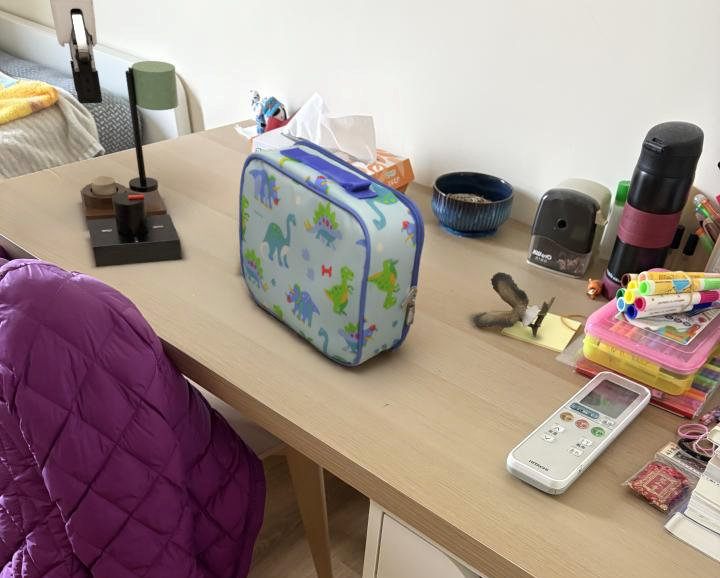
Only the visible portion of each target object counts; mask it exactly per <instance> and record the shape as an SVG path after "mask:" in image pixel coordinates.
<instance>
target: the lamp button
mask: <svg viewBox="0 0 720 578" xmlns="http://www.w3.org/2000/svg"><path fill="white" fill-rule="evenodd" d="M116 183H117V182H116V179H115V178H113V177H112V176H107V175H101V176H95V177H93V178H91V179H90V184H91V186H92V192H93V193H94V194H97V195H110V194H113V193H116V192H117V190H116Z"/></svg>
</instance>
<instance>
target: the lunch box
mask: <svg viewBox="0 0 720 578" xmlns="http://www.w3.org/2000/svg"><path fill="white" fill-rule="evenodd" d="M239 181H240V182H239V193H240V195H239V194H238V203H239V205H238V236H239V237H238V239H239V240H238V241H239V257H240V268H242V273H243V274H242V277H243V280H244V283H245V285H246V288H247V290H248V292H249V293H250V296H251V297H252V299H253V300H254V302H256V303H257V305H259V306H260V307H261V308H263V309H264V310H265V311H267V312H268V313H269V314H271V315H272V316H274V317H275V318H277V319H278V320H279V321H281V322H282V323H283V324H285V325H286V326H287V327H289V328H290V329H292V330H293V331H294V332H295V333H296V335H298V336H300V337H302V338H303V339H304V340H306V341H307V342H309V343H310V344H311V345H312V346H313V347H315V348H316V349H317V350H318V351H319V352H320V353H322V354H323V355H324V356H326V357H327V358H329V359H330V360H333V362H336V363H338V364H341V365H342V366H343V365H344V366H347V367H356V366H358V365H360V364H363V363H365V362H366V361H368V360H369V359H371V358H372V357H375V356H377V355H379V353H381V352H385V351H390V352H391V351H393V352H394V351H395V350H397V349H399V348H400V347H401V346H402V345H403V343H404V342H405V340H406V338H407V336H408V334H409V331H410V328H411V325H413V324H414V318H415V313H416V299H417V294H418V283H419V282H418V281H419V274H420V264H421V257H422V254H423V248H424V243H425V237H426V235H425V234H426V233H425V231H426V229H425V223H424V219H423V213H422V212H421V210H420V208H419V206H418V204H416V202H415V201H414V200H413V199H411V198H410V197H408V196H407V195H406V194H404V193H402V192H400V191H399V190H397V189H395V188H393V187H391V186H390V185H388V184H385V183H383V182H382V181H380V180H378V179H377V178H375V177H374V176H372V175H369V174H368V173H367V172H364V171H363V170H361V169H360V168H359V167H357V166H355V165H353V164H352V163H351V162H348V161H347V160H345V159H343V158H342V157H340V156H338V155H336V154H334V153H333V152H330V151H329V150H327V149H326V148H324V147H322V146H320V145H318V144H316V143H315V142H313V141H309V140H298V141H296V142H294V143H293V144H292V145H289V146H284V147H279V148H270V149H266V150H265V149H263V150H257V151H254V152H250V153H249V154H248V155H247V156H246V158H245V159H244V162H243V165H242V170H241V175H240V180H239Z"/></svg>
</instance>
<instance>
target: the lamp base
mask: <svg viewBox="0 0 720 578" xmlns="http://www.w3.org/2000/svg"><path fill="white" fill-rule="evenodd" d="M115 183H116V190H117V192H116V193H113V194H110V195H97V194H94V193H93V192H92V186H91V183H89V184H86V185H85V186H83V188H81V189H80V190H79V191H80V195H81V196H80V197H81V200H82V207H83V211H84V215H85V221H86V222H87V220H96V219H111V218H115V214H114V208H113V202H112V198H113V197H114V196H115V195H117V194H120V193H137V194H140V195H144V199H145V206H146V214H147V216H153V215H167V214H168V211H167V208H166V206H165V204H164V201H163V198H162V195H161V193H160V191H159V188H158V189H157V190H155V191H152V192H145V193H142V192H135V191H132V190H131V189H130V188H129V187H126V186H125V185H123V184H121V183H118V182H115ZM86 225H87V227H88V224H87V223H86ZM87 230H88V231H89V229H88V228H87Z"/></svg>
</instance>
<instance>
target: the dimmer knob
mask: <svg viewBox="0 0 720 578" xmlns="http://www.w3.org/2000/svg"><path fill="white" fill-rule="evenodd" d="M112 202H113V208H114V214H115V220H116V227H117V231H118V232H119V233H121V234H123V235H130V236H134V235H141V234H144V233H145V232H147V231H148V222H147V214H146V206H145V199H144V195H140V194H137V193H120V194H117V195H115V196H114V197H113V198H112Z"/></svg>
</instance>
